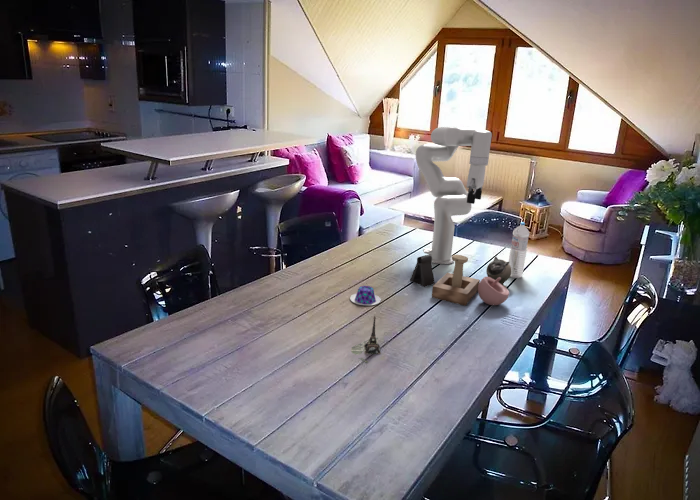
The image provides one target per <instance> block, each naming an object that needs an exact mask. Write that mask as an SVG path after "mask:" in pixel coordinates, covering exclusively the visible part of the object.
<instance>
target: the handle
mask: <svg viewBox="0 0 700 500" xmlns="http://www.w3.org/2000/svg"><path fill="white" fill-rule="evenodd" d="M451 256H452V260H453V261H454V268H453V272H452V274H453V277H452V286H454V287H458V288H461V284H462V277H463V276H464V275H463V274H464V265H465V263H466V264H467V262H469V258H468V257H467V256H465V255H461V254H453V255H452V254H451Z"/></svg>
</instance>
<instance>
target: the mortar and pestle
mask: <svg viewBox="0 0 700 500" xmlns="http://www.w3.org/2000/svg"><path fill="white" fill-rule="evenodd" d="M500 280H501V278H500V277H499V278H497V279H496V280H494V279H492V278H490V277H488V276H484V277H483V278H482V279H480V282H479V285H478V292H477V293H478V296H479V298H480V301H482V302H484V303H485V304H486V305H489V306H499V305H501V304H503V303H505V302H506V301H507V299H508V298H509V296H510V291H509V290H508V288H507V287H506V288H505V287H504V286H503V285H501V284H500V283H499V282H498V281H500Z"/></svg>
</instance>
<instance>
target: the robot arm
mask: <svg viewBox="0 0 700 500" xmlns="http://www.w3.org/2000/svg"><path fill="white" fill-rule="evenodd" d="M492 136H493V134H492V132H491V131H489V130H485V129H483V128H481V127H457V126H439V127H437V128H434V129H433V130H432V132H431V133H430V140H431V142H432V143H425V144H421V145H419V146H418V147H417V148H416V151H415V161H416V164H417V167H418V168H419V171H420V172H421V173H422V175H423V177H424V179H425V181H426V184H427V186H428V188H429V191H430V193H431V195H432V196H433V197H434V198H436V199H435V200H434V201H433V211H434V221H433V222H434V223H433V233H432V243H431V248H430V249H429V248H426V247H424V248H423V250H422V251H423V253H424V254H426V255H428V256H429V255H431V257H432V261H431V263H432V264H433V263H434V264H438V265H449V264H453V263H455V261H453V260H452V252H453V245H454V244H453V243H454V233H455V222H454V220H453V218H452V217H455V216H465V215H466V216H467V215H468V214H469V213H470V212H471V210H472V204H473V205H474V204H475V203H476V200H482V194H483V193H482V192H483V186H484V182H485V176H486V166H489V157H490V150H491V143H492ZM459 147H470V155H469V162H468V163H469V170H468V175H467V181H466V186H465V185H464V183H463V181H462V180H461V179H460V178H458V177H454V176H453V177H450V176H449V177H447V176H445V175H444V173H443V172H442V170H441V168H440V167H439V166H438V165H437V164H436V163H434V162H448V161H450V160H451V158H452V157H453V156H454V154H455V153H456V152H457V150H458V149H459Z"/></svg>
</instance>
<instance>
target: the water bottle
mask: <svg viewBox="0 0 700 500" xmlns="http://www.w3.org/2000/svg"><path fill="white" fill-rule="evenodd" d="M519 224H520V225H518V226H517V227H516V228H514V229H513V231H512V237H511V238H512V239H511V244H510V245H511V246H510V250H509V258H508V262H509V265H510V266H511V270H512V271H511V275H510V278H513V279H521V278H522V277H523V275H524V274H523V273H524V267H525V261H526V256H527V248H528V241H529V237H530V231H529V229H528V228H527V227H526V226H525V225H526V223H525V222H524V221H522V222H520V223H519Z"/></svg>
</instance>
